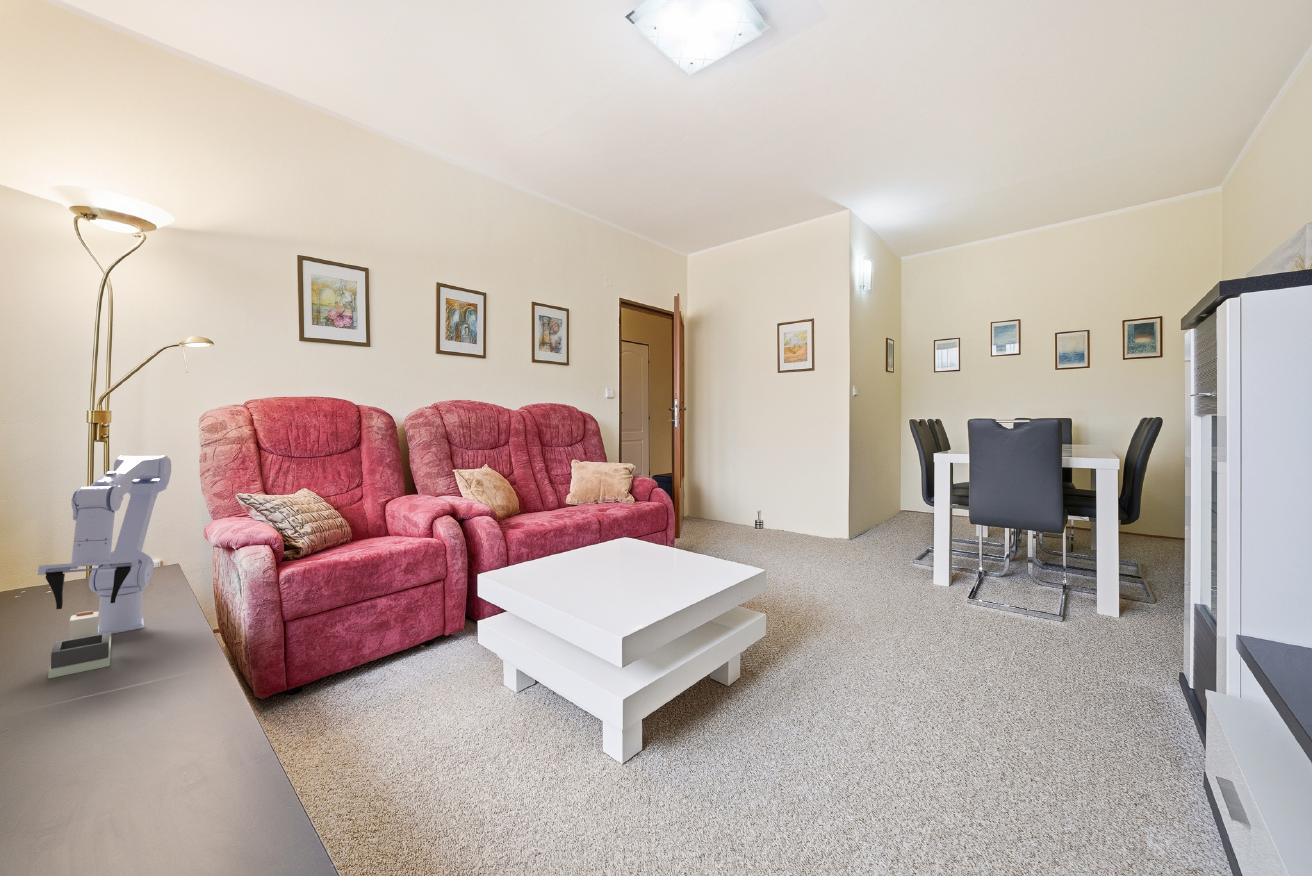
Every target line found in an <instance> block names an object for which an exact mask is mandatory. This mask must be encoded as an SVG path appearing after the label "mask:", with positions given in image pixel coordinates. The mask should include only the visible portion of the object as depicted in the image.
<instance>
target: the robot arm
mask: <svg viewBox="0 0 1312 876" xmlns="http://www.w3.org/2000/svg"><path fill="white" fill-rule="evenodd" d="M171 474H172V460H171V459H170V457H169V456H167V455H166V454H165V455H164V454H163V455H119V456H118V457H117V458H116V459H115V461H114V463H113V471H106V472H105V473H104V474H103V475H102V476H100V477H99V478H98V479H97V480H95V481H94V482H93V483H91V484H90V485H89V486H82V487H80V488H79V489H76V490H74V491H73V494H72V496H71V497H72V498H71V507H72V513H73V514H72V519H73V521H75V526H74V535H73V536H74V537H73V544H72V554H71V562H69V563H56V564H45V565H44V564H43V565H38V568H37V569H38V570H37V575H38V576H42V575H45V580H46V581H47V583H48V584H49V587H50V589H51V591H52V594H53V596H54V599H55V606H56V610H62V609H63V602H64V600H63V599H64V598H63V595H64V594H63V592H64V585H65V584H64V583H65V577H66V574H67V573H77V572H78V573H79V572H80V573H81V572H89V571H91V572H90V574H89V577H88V587H89V590H91V591H92V592H93V593H96V594H95V595H96V596H99V607H98V611H99V619H98V634H100V633H106V632H109V634H111V635H113V634H117V633H118V634H119V633H124V632H129V631H136V630H139V629H140V630H141V629H144V628H145V622H144V621H145V620H144V617H143V590H144V589H146V588H147V587H148V586H149V585H151V582H152V580H153V576H154V575H153V573H154V571H153V569H154V560H153V558H152V557H151V556H150V555H149V554H146V552H143V548H144V544H145V540H146V537H147V533H148V529H149V525H150V521H151V518H152V514H153V510H154V507H155V503H156V499H157V498H158V496H159V495H158V494H159V493H161V492H163V491H165V490H167V487H168V485H169V482H170V480H171V479H170V478H171ZM126 494H128V495H129V500H128V503H127V504H128V505H127V507H126V510H125V512H124V513H125V514H124V517H123V519H122V520H123V521H122V524H121V528H120V530H119V534H118V536H117V541H116V543H115V547H114V550H113V551H112V544H113V535H114V524H115V523H114V522H115V514H116V512H118V511H119V510H120V508H121V506H122V502H123V500H124V496H125V495H126ZM90 566H91V567H92V566H93V568H79V569H78V567H90Z"/></svg>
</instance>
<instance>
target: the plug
mask: <svg viewBox="0 0 1312 876" xmlns="http://www.w3.org/2000/svg"><path fill="white" fill-rule="evenodd" d="M98 625H99V610H98V611H94V610H87V611H86V610H85V611H80V612H76V614H73V615H70V618H69V632H68V633H69V634H68V636H69V637H68V638H69V639H73V638H79V637H85V636H90V635H96V634H98Z"/></svg>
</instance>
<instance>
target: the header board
mask: <svg viewBox="0 0 1312 876" xmlns="http://www.w3.org/2000/svg"><path fill="white" fill-rule="evenodd" d="M111 646H112V634H109V632H106V633H100V634H96V635H90V636H85V637H79V638H73V639H68V638H67V639H63V640H57V641H54V644H53V646H52V649H51V654H50V663H49V668H48V669H47V670H48V671H47V678H48V680H49V679H53V678H58V677H62V676H67V675H71V674H78V673H81V672H83V673H84V672H86V671H87V672H88V671H93V670H96V669H102V668H106V667H110V666H111V650H112V649H111V648H112V647H111Z"/></svg>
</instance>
